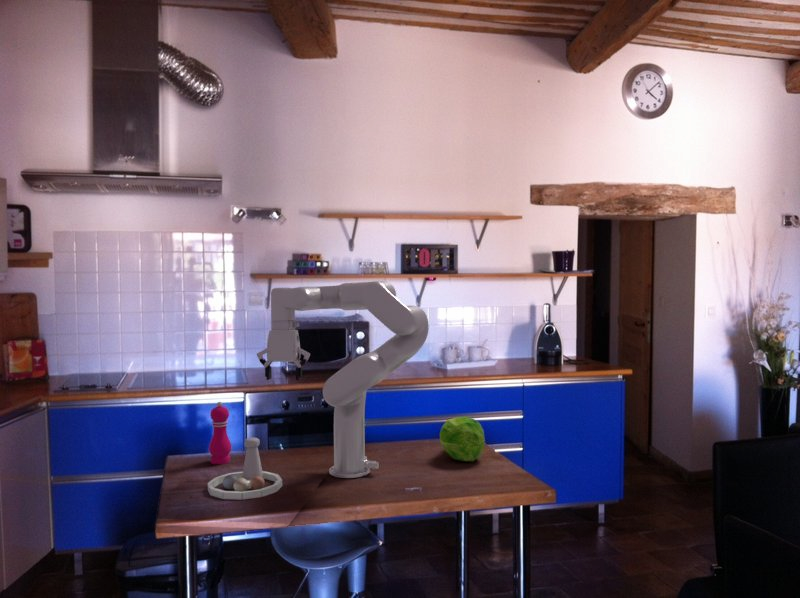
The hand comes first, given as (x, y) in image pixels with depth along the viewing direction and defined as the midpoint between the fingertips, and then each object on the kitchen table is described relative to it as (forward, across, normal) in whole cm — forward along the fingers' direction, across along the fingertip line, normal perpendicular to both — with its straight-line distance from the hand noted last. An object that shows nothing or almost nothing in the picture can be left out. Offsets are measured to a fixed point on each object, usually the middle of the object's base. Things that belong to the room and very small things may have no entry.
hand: (283, 379), depth 208 cm
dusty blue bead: (+26, +8, +28) cm, 39 cm away
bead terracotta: (+26, 0, +28) cm, 38 cm away
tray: (+28, +4, +25) cm, 38 cm away
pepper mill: (+28, +23, -4) cm, 37 cm away
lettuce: (+28, -56, -18) cm, 65 cm away
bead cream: (+27, +4, +30) cm, 40 cm away
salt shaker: (+28, +4, +20) cm, 34 cm away
